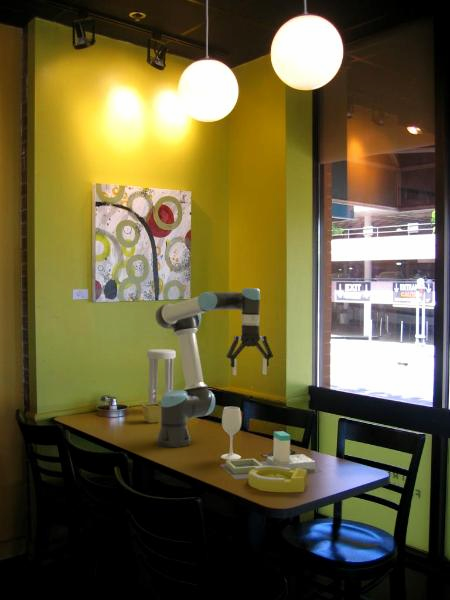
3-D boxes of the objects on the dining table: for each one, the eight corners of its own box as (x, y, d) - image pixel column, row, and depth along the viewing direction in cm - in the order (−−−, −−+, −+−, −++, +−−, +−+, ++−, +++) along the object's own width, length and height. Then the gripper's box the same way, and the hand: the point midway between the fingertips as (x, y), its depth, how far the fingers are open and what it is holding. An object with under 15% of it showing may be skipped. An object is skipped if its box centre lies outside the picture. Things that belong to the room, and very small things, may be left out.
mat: (235, 480, 232) (235, 479, 232) (219, 465, 250) (219, 464, 250) (322, 472, 243) (322, 471, 243) (301, 459, 261) (301, 458, 261)
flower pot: (141, 421, 328) (141, 404, 328) (156, 419, 332) (157, 402, 332) (147, 424, 321) (147, 407, 320) (163, 423, 325) (163, 405, 324)
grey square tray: (234, 473, 239) (234, 468, 239) (225, 465, 249) (225, 460, 249) (263, 471, 242) (263, 466, 242) (253, 463, 253) (254, 458, 253)
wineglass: (244, 456, 265) (244, 407, 264) (237, 461, 256) (238, 410, 256) (224, 454, 267) (225, 405, 267) (217, 459, 259) (218, 409, 259)
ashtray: (301, 495, 217) (302, 481, 216) (243, 488, 222) (244, 474, 222) (308, 480, 232) (308, 467, 232) (254, 474, 238) (254, 461, 238)
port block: (277, 473, 240) (277, 463, 240) (266, 465, 250) (266, 456, 250) (315, 470, 245) (315, 460, 245) (303, 462, 255) (303, 453, 255)
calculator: (260, 457, 265) (260, 450, 265) (281, 453, 272) (281, 446, 272) (274, 462, 257) (274, 455, 257) (295, 458, 264) (295, 451, 264)
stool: (176, 410, 358) (177, 349, 357) (170, 415, 343) (171, 352, 342) (150, 409, 360) (151, 348, 359) (143, 414, 345) (144, 351, 344)
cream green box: (279, 471, 242) (280, 435, 242) (273, 466, 249) (273, 431, 249) (289, 470, 243) (290, 435, 243) (282, 465, 250) (283, 431, 250)
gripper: (225, 325, 257) (224, 376, 257) (281, 325, 264) (280, 374, 265) (219, 324, 264) (218, 374, 264) (274, 323, 271) (273, 372, 272)
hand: (249, 374), depth 264 cm, fingers open, 13 cm apart
